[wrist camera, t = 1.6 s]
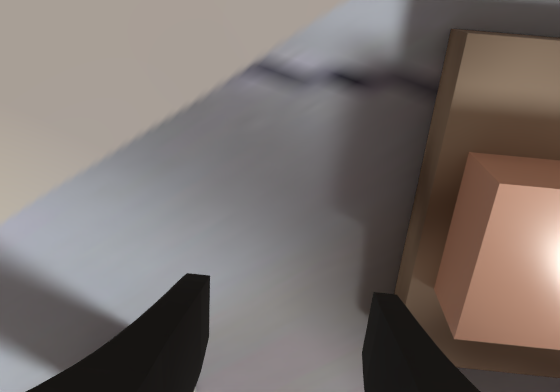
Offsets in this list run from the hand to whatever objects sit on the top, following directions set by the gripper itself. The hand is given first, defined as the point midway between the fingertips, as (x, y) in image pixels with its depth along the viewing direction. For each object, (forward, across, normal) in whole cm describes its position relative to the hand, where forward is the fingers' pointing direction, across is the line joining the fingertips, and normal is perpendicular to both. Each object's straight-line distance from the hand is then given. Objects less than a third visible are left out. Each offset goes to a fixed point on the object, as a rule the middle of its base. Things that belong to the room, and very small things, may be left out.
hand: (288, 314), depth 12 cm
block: (+6, -10, 0) cm, 12 cm away
